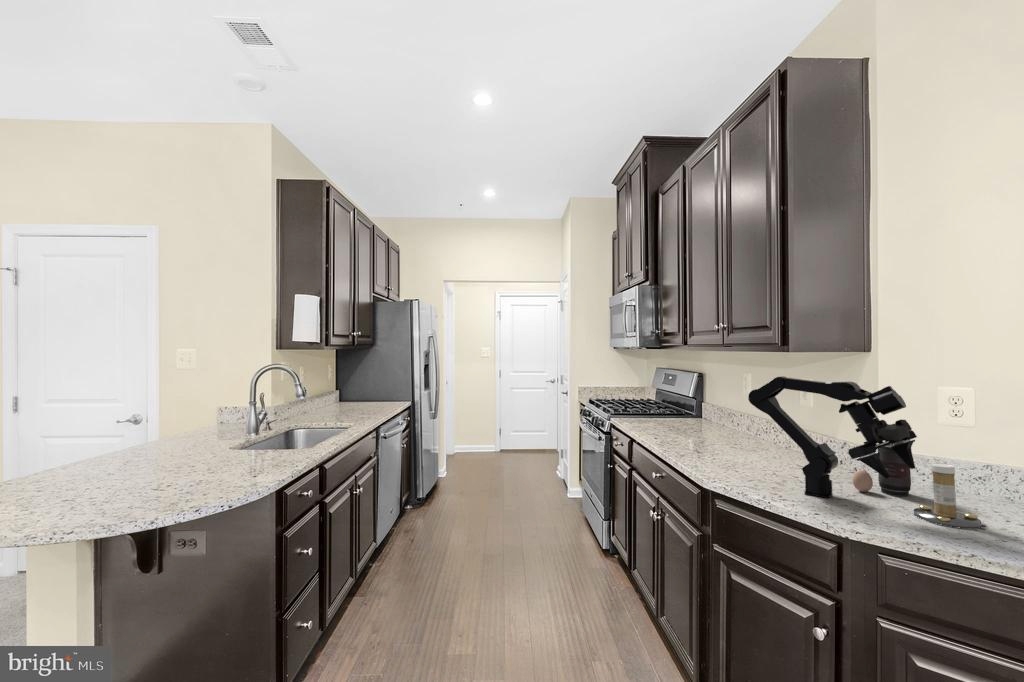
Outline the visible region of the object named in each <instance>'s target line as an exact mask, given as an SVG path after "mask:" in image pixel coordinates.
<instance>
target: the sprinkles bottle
mask: <svg viewBox="0 0 1024 682" xmlns="http://www.w3.org/2000/svg"><path fill="white" fill-rule="evenodd" d="M931 472H932V487H933V488H932V490H933V492H932V493H933V505H934V507H933V508H934V509H935V511H934V513H935V514H936V515H939V516H945V517H949V518H955V517H957V514H956V512H957V498H956V497H957V495H956V494H957V493H956V480H955V475H956V467H955V466H954V465H952V464H947V463H940V462H939V463H938V462H937V463H936V462H934V463H931Z"/></svg>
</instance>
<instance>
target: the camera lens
mask: <svg viewBox="0 0 1024 682" xmlns="http://www.w3.org/2000/svg"><path fill="white" fill-rule="evenodd" d="M892 446H894V444H893V445H892V444H890V445H887V446H884V447H881V448H879V449H877V453H879V452H880V460H881V462H882V464H883V465H884V467H885V469H886V470H887V472H888V474H889V476H890V478H885V477H883V476H882V475H881V474H879V473H878V479H877V480H878V485H879V487H880V491H881V492H882V493H883V494H885V493H886V494H885V495H888V494H889V496H893V495H895V497H908V496H909V495H910V492H911V487H912V476H911V475H912V473H911V472H912V471H911V468H910V467H909V466H908V465H907V464H906V463H905V462H904V461H903V460H902V459H901V458H900V457H899V456H898V455H897V453H896V452H895V451H894V450H893V449H892V448H891V447H892Z"/></svg>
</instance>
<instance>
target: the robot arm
mask: <svg viewBox="0 0 1024 682" xmlns="http://www.w3.org/2000/svg"><path fill="white" fill-rule="evenodd" d="M784 390H791V391H796V392H797V391H798V392H804V393H812V394H818V395H822V396H825V397H827V398H831V399H834V400H837V401H840V402H850V401H851V402H850V403H848V404H846V403H841V404H840V407H839V410H838V413H839V414H843V413H846V412H847V413H848V414H849V416H850V418H851V419H852V421H853V422H854V424H855V425H856V427H857V428H855V432H856V433H859V432H860V433H861V435H862V437H864V440H865V441H863V444H860V445H857V446H854V447H851V448H848V452H847V453H848V455H849V457H850V458H851V460H855V459H856V461H857V462H859V461H860V462H862V463H863V464H865V465H866V466H868V467H869V468H870V469H872V470H874V471H875V472H876V473H878V474H881V475H882V476H883V477H885V478H890V476H889V474H888V472H887V470H886V469H885V467H884V465H883V464H882V462H881V460H880V452H879V453H878V452H877V450H878V449H879V448H881V447H884V446H887V445H890V444H892V445H894V446H892V447H891V448H892V449H893V450H894V451H895V452H896V453H897V455H898V456H899V457H900V458H901V459H902V460H903V461H904V462H905V463H906V464H907V465H908V466H909V467H910V470H913V469H916V465H915V461H914V456H913V452H912V446H913V444H914V443H915V442H916V438H918V435H916V432H914V430H913V429H912V427H911V425H910V423H909V422H908V421H907V420H906V419H898V420H896V421H895V423H892V424H888V423H887V421H886V420H884V419H881V420H880V419H879V417H878V415H877V414H881V415H882V416H885V415H888V414H892V413H893V412H897V411H900V410H902V409H904V408H907V405H906V402H905V399H904V398H903V397H902V396H901V395H899V393H898V392H897V391H896V390H895V389H894V388H893V387H892V386H891V385H888V386H885V387H883V388H882V389H880V390H877V391H875V392H871V391H868V390H866V389H863V388H861V386H860V385H858V383H856V382H853V381H827V382H825V381H816V380H809V379H802V378H795V377H786V376H776V377H774V378H773V379H772V380H771V381H768V382H767V383H765V384H764V385H762V386H761V387H759V388H757V389H752V390H751V391H750V392H749V393H748V399H747V400H748V401H749V403H750V405H752V406H754V408H756V409H757V410H759V411H761V412H762V413H764V414H766V415H768V416H769V417H770V418H771V419H772V421H774V422H775V423H776V424H777V425H778V426H779V428H781V430H782V431H783V432H784V433H786V434H787V436H788V437H790V439H791V440H792V441H793V442H794V443H795V444H796V445H797V446H798V447H799V448H800V449H801V450H802V453H803V455H804V457H805V459H806V460H807V462H808V463H807V464H805V465H804V466H803V467H802V468H801V469H802V472H803V473H802V474H803V475H804V484H805V485H804V486H805V491H804V495H808V496H809V495H810V496H814V497H820V498H827V499H830V498H831V496H832V495H833V480H832V479H831V478H830V477H831V476H830V474H831V472H832V471H833V470H834V469H836V468H838V467H837V466H839V457H838V456H837V455H836V454H837V452H836V451H834V450H833V449H831V448H830V446H829V445H828V444H827V443H826V442H823V443H819V442H816V441H815V440H814V439H813V438H812V437H811V436H810V435H809V434H808V433H807V432H806V431H805V430H804V429H803V428H802V427H801V426H800V425H799V424H798V423H797V422H796V421H795V420H794V419H793V418H792V417H791V416H790V415H789V414H788V413H787V412H786V411H785V410H784V409H783V408H782V407H781V406H780V403H779V401H778V399H777V398H776V396H778V395H779V394H780V393H782V391H784ZM867 399H868V400H867ZM855 400H856V401H855ZM864 400H867V401H864ZM852 401H853V402H852ZM860 401H863V402H860Z"/></svg>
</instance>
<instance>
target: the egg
mask: <svg viewBox="0 0 1024 682" xmlns="http://www.w3.org/2000/svg"><path fill="white" fill-rule="evenodd" d="M852 484H853V487H854V488H856V490H858V491H859V492H862V493H867V492H869V491H871V489H873V486H874V482H873V478H872V476H871V475H870V473H869V472H867V470H866V471H865V470H862V469H859V470H857V471H856V472H854V474H853V476H852Z"/></svg>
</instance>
